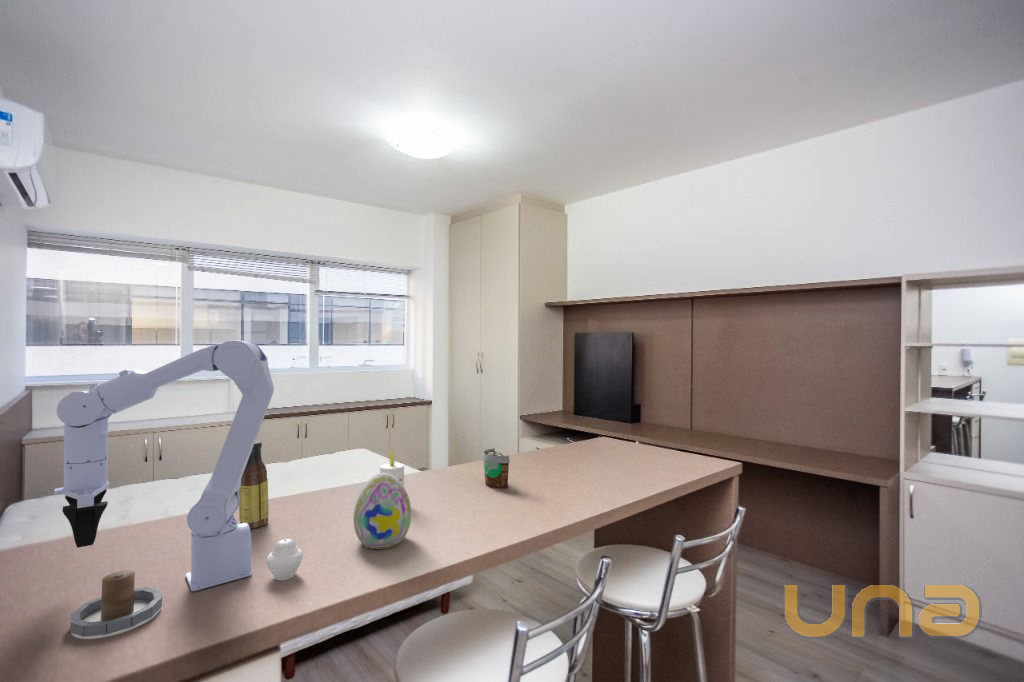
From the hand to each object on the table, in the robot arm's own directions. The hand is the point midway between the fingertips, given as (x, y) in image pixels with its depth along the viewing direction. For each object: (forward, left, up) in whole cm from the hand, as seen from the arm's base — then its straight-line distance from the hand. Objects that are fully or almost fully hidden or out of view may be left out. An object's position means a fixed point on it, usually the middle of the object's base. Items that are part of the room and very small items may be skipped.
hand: (85, 538), depth 84 cm
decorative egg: (-49, +13, -10) cm, 52 cm away
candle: (-62, -8, -10) cm, 63 cm away
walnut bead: (-4, +13, -9) cm, 17 cm away
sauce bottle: (-30, -16, -10) cm, 35 cm away
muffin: (-28, +16, -10) cm, 34 cm away
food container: (-94, -5, -10) cm, 95 cm away
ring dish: (-4, +14, -9) cm, 17 cm away
